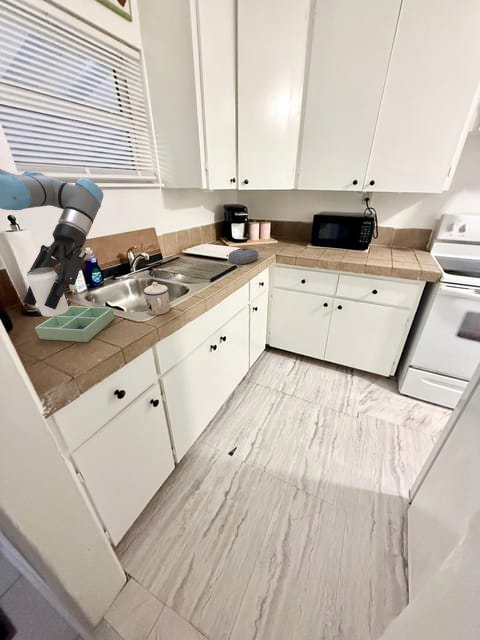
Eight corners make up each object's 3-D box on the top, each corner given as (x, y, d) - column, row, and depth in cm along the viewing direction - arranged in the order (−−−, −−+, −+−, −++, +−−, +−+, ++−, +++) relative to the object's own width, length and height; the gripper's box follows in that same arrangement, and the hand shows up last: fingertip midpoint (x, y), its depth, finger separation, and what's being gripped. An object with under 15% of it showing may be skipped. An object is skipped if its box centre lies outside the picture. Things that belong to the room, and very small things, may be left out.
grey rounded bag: (243, 266, 157) (263, 259, 171) (243, 252, 153) (263, 247, 167) (225, 262, 166) (245, 256, 179) (225, 248, 162) (245, 243, 175)
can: (39, 312, 72) (22, 270, 67) (65, 305, 76) (52, 265, 71) (44, 320, 68) (27, 276, 63) (72, 312, 72) (58, 270, 67)
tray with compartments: (39, 339, 85) (34, 327, 83) (73, 316, 99) (70, 305, 97) (87, 342, 83) (83, 330, 81) (114, 318, 98) (112, 307, 96)
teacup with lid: (146, 307, 106) (141, 280, 100) (168, 304, 109) (165, 277, 103) (149, 320, 96) (144, 291, 90) (174, 316, 99) (170, 287, 94)
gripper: (109, 240, 75) (80, 315, 69) (57, 236, 80) (25, 306, 73) (90, 223, 68) (55, 305, 62) (34, 220, 73) (-4, 295, 66)
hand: (39, 305), depth 68 cm, fingers closed on can, 6 cm apart
